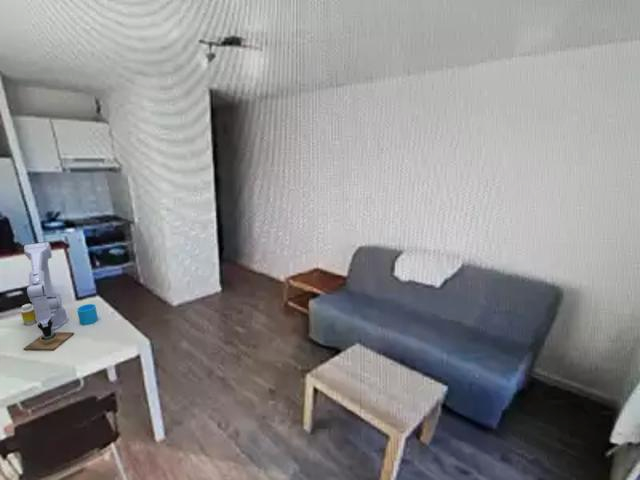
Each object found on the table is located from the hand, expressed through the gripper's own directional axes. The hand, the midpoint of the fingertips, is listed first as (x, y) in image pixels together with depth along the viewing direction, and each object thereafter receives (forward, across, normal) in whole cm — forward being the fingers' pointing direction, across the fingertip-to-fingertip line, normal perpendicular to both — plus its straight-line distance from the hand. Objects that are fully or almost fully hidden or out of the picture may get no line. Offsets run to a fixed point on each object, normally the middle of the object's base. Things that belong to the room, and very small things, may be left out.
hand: (48, 333), depth 169 cm
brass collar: (+4, 0, 0) cm, 4 cm away
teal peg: (+2, 0, 0) cm, 2 cm away
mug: (+5, +13, -17) cm, 22 cm away
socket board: (+4, 0, 0) cm, 4 cm away
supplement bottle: (+5, +28, +7) cm, 29 cm away
